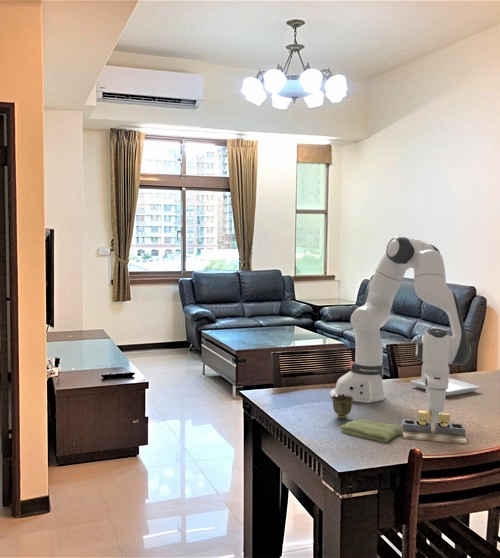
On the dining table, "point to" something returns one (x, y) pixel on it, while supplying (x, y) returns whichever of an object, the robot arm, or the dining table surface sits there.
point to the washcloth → (371, 430)
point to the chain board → (434, 436)
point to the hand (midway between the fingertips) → (433, 417)
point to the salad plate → (451, 387)
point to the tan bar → (427, 416)
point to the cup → (342, 405)
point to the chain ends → (450, 430)
